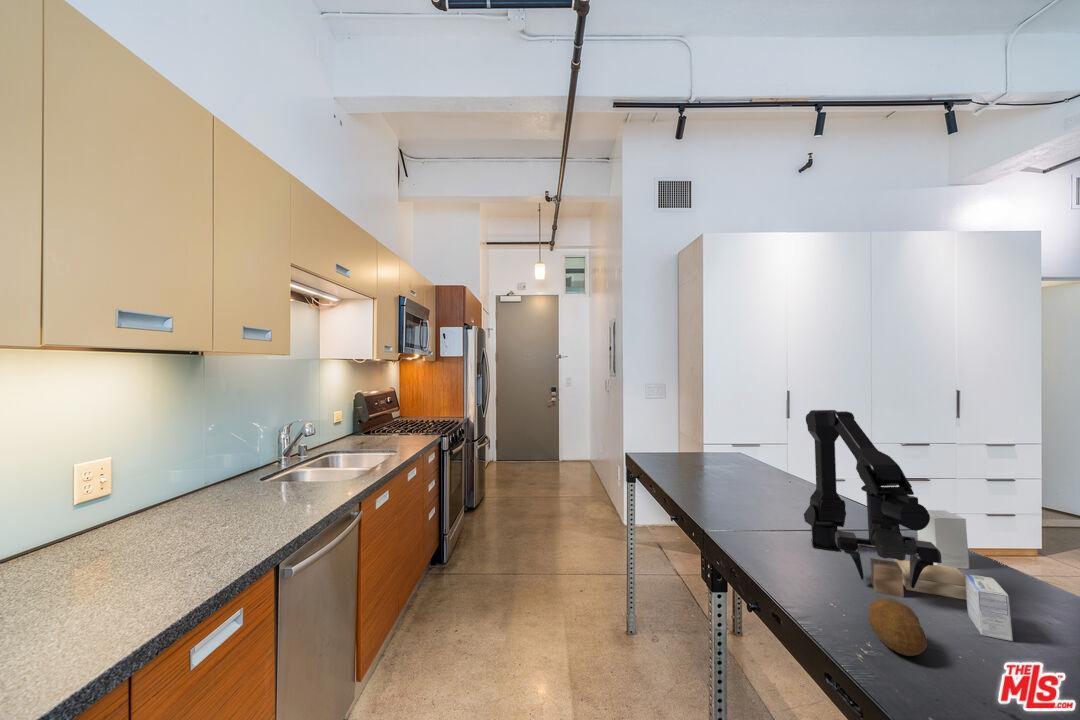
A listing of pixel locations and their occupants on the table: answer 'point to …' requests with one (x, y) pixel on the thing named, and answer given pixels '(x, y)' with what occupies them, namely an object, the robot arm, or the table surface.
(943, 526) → the supplement box
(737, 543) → the table surface
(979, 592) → the medicine box
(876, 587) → the walnut block
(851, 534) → the robot arm
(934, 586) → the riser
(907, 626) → the potato
